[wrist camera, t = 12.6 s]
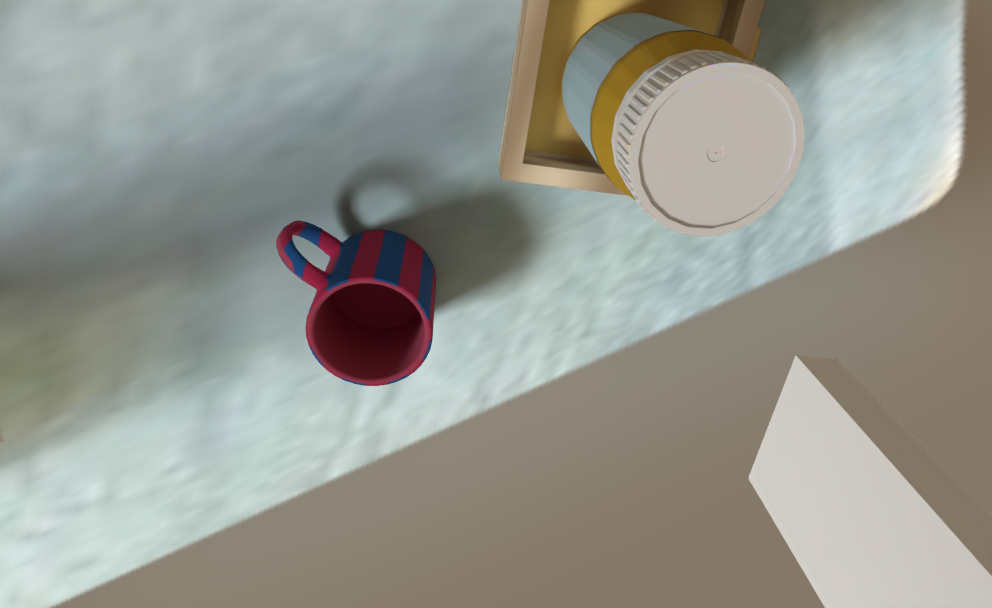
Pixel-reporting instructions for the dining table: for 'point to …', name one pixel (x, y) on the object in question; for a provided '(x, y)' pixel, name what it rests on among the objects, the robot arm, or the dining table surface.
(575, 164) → the caddy
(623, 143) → the bottle
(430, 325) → the mug
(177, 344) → the dining table surface
